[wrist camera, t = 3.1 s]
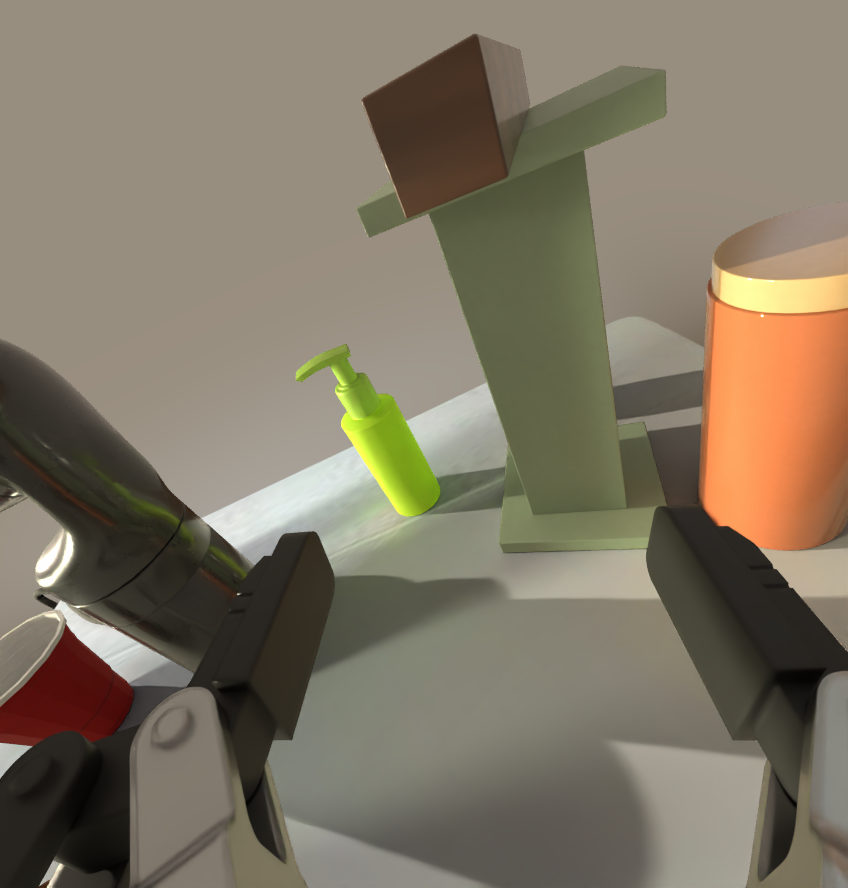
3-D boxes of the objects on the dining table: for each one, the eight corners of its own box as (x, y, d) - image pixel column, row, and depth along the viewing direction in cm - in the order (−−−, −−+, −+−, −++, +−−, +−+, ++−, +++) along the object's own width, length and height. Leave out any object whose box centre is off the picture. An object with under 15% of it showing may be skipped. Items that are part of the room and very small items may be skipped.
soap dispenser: (383, 495, 50) (293, 359, 38) (433, 471, 50) (358, 327, 38) (391, 528, 45) (291, 385, 34) (446, 501, 45) (365, 348, 33)
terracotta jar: (685, 528, 33) (689, 290, 21) (711, 452, 37) (727, 219, 25) (842, 568, 27) (974, 268, 15) (852, 473, 31) (961, 179, 19)
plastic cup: (175, 648, 44) (81, 593, 37) (120, 772, 36) (-16, 730, 29) (101, 667, 47) (-1, 618, 40) (32, 787, 38) (-114, 753, 31)
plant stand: (676, 548, 32) (672, 69, 14) (502, 553, 38) (348, 213, 20) (644, 432, 42) (620, 64, 24) (511, 450, 47) (412, 162, 30)
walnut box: (509, 177, 11) (477, 31, 9) (405, 220, 12) (359, 99, 10) (530, 104, 28) (520, 49, 26) (485, 125, 29) (473, 73, 27)
